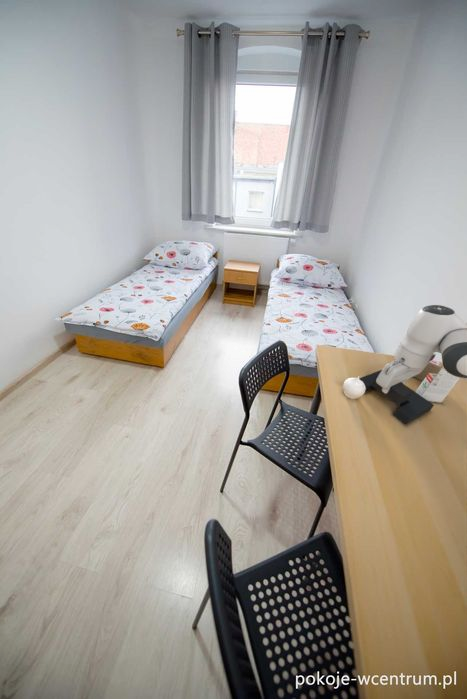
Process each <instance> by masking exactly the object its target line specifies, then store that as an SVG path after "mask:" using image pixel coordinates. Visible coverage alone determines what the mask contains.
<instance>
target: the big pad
mask: <svg viewBox="0 0 467 699" xmlns="http://www.w3.org/2000/svg"><path fill="white" fill-rule="evenodd" d="M382 370H383V369H380V370H377V371H374V372H372V373H369V374H367V375H363V376H361V377H359V379H360V380H361V381H362V382H363V383H364V384H365V387H366V390H365V393H367V392H370V391H372V390H374V389H375V388H374V387H373V386H371V385H372V383H373V382H374V380H375V378H376V377H377V376H379V374H380V373H381V371H382ZM375 390H376V389H375ZM400 405H401V406H400V407H398V408H397V409H396V410H395V412H394V413H393V417H395V418H396V419H398V421H400V422H401V423H403V424H404V425H405V426H407V425H408V424H410V423H411V422H414V421H415V420H417V419H419V418H420V417H422V416H424V415H425V414H427V413H429V412H430V411H431V410H432V409H433V407H434V406H435V404H433V403H432V402H431V401H427V400H426V399H425V398H423V397H422V396H420V395H419V394H417V393H416V391H414V392H413V393H412V395H411V396H410V398H409V399H408V400H407V401H405V402H403V403H401V404H400Z"/></svg>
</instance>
